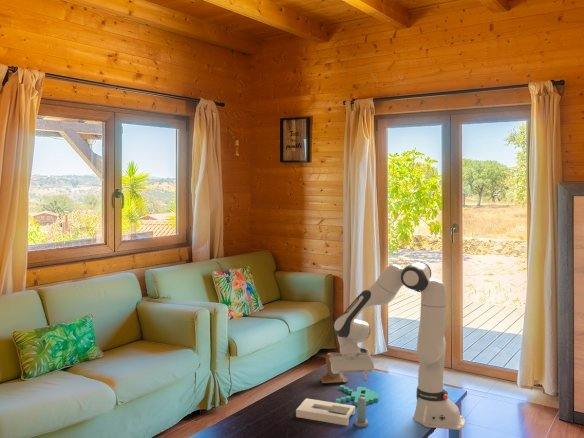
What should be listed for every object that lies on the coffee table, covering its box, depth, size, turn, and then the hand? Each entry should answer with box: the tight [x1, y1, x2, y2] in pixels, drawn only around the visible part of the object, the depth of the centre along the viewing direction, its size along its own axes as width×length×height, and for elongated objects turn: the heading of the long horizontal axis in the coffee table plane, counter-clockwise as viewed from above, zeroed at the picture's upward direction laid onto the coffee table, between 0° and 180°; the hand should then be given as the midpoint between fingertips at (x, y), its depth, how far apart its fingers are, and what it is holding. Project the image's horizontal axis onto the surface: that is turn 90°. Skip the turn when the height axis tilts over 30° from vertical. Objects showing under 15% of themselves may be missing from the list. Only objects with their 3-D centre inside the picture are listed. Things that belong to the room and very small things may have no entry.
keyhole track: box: [295, 397, 356, 426], centre depth 255 cm, size 24×14×3 cm, turn 70°
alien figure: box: [335, 384, 380, 407], centre depth 275 cm, size 20×2×20 cm
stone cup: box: [320, 352, 349, 384], centre depth 297 cm, size 15×12×15 cm
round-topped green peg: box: [354, 396, 369, 428], centre depth 245 cm, size 6×6×12 cm
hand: (355, 381), depth 255 cm, fingers open, 8 cm apart
